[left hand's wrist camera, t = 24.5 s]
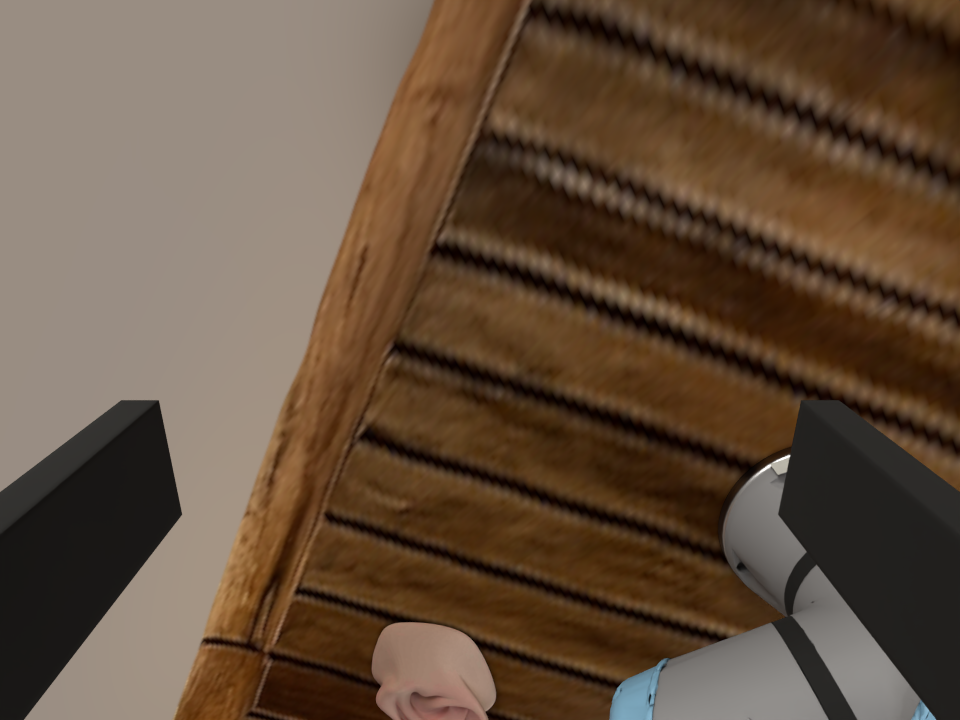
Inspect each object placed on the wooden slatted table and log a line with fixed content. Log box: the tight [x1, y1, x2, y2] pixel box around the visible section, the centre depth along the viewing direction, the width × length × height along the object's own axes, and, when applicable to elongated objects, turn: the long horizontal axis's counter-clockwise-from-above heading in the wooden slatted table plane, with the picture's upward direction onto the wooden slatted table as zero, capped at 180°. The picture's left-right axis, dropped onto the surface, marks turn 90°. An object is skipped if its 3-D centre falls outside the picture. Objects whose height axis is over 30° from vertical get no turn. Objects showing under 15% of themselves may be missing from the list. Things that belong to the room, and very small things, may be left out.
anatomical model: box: [372, 622, 496, 720], centre depth 58 cm, size 13×4×12 cm
